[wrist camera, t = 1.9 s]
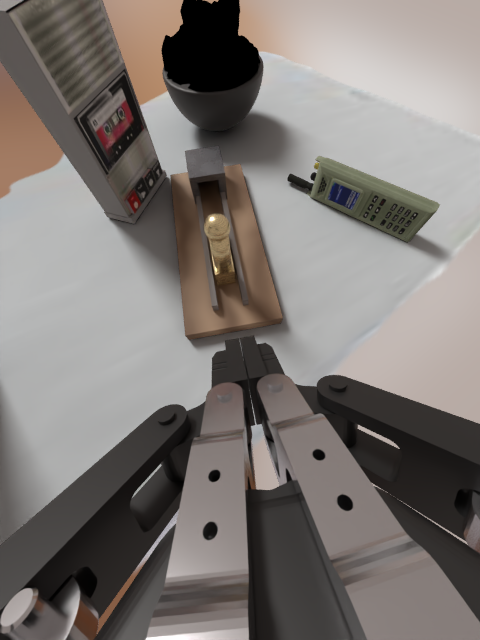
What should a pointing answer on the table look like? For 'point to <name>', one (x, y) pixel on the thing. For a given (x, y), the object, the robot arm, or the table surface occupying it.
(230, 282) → the brass bolt
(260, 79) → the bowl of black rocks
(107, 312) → the table surface
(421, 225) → the handheld radio
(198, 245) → the wooden track base
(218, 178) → the steel keeper
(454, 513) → the robot arm
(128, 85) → the cassette tape recorder
